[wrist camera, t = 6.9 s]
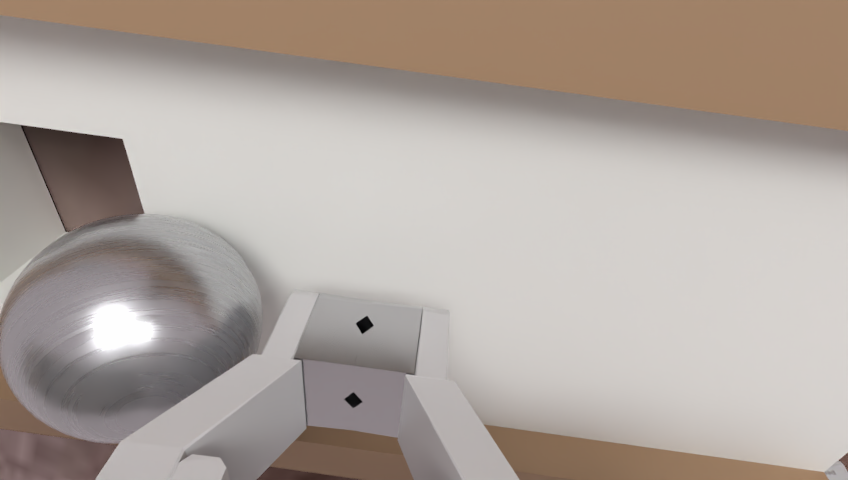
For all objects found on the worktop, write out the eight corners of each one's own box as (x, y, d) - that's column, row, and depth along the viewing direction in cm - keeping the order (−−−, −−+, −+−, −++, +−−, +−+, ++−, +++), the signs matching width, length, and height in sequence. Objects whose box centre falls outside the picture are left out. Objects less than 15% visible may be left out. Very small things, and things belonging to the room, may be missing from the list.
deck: (-355, -305, 8) (-1267, -548, 4) (1183, -99, 8) (1998, -115, 4) (23, 339, 17) (-116, 472, 13) (719, 436, 17) (797, 601, 13)
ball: (-12, 181, 8) (-104, 365, 5) (240, 166, 9) (278, 298, 7) (59, 340, 10) (24, 527, 7) (252, 305, 12) (283, 446, 9)
